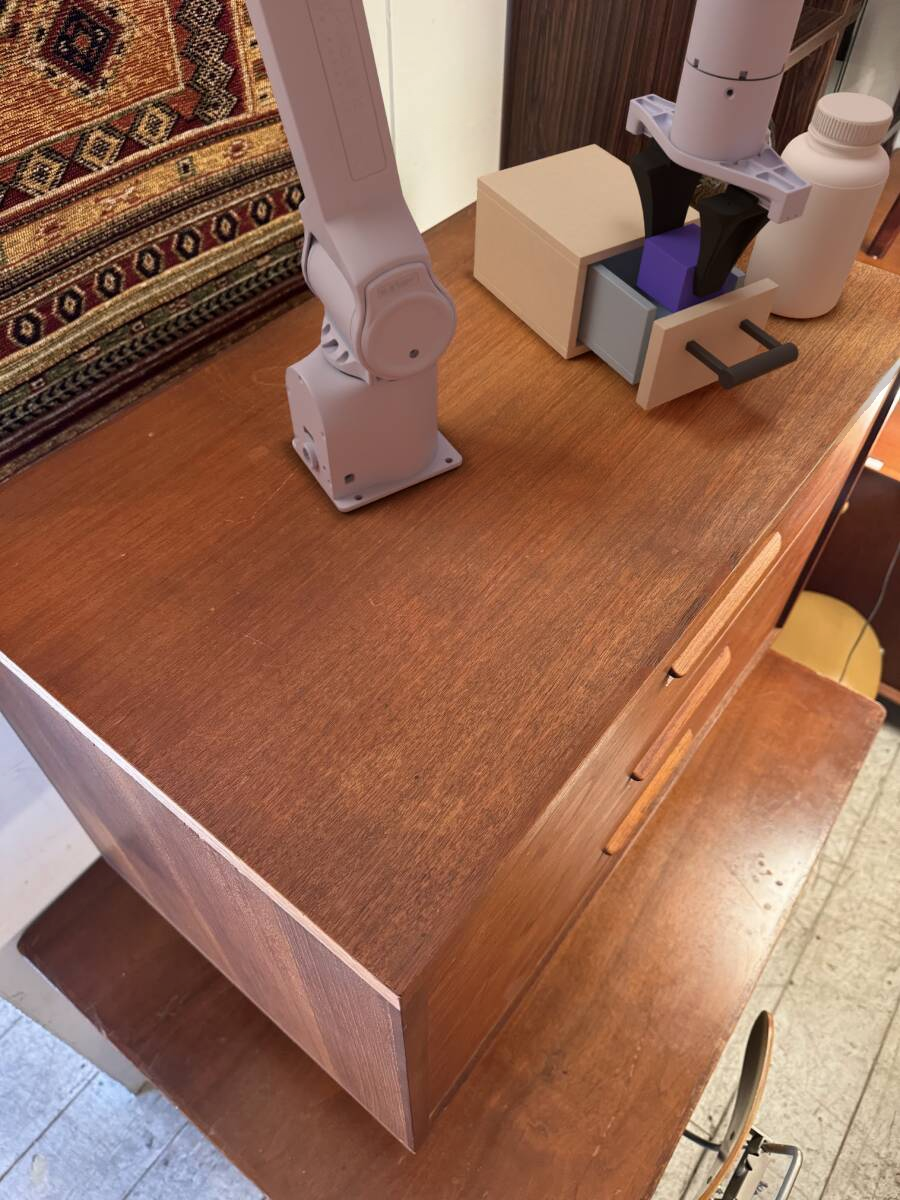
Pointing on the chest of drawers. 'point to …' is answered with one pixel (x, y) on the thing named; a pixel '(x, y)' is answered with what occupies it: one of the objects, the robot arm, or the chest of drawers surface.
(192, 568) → the chest of drawers surface
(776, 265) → the pill bottle
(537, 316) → the drawer cabinet
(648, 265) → the violet cube
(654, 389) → the drawer
